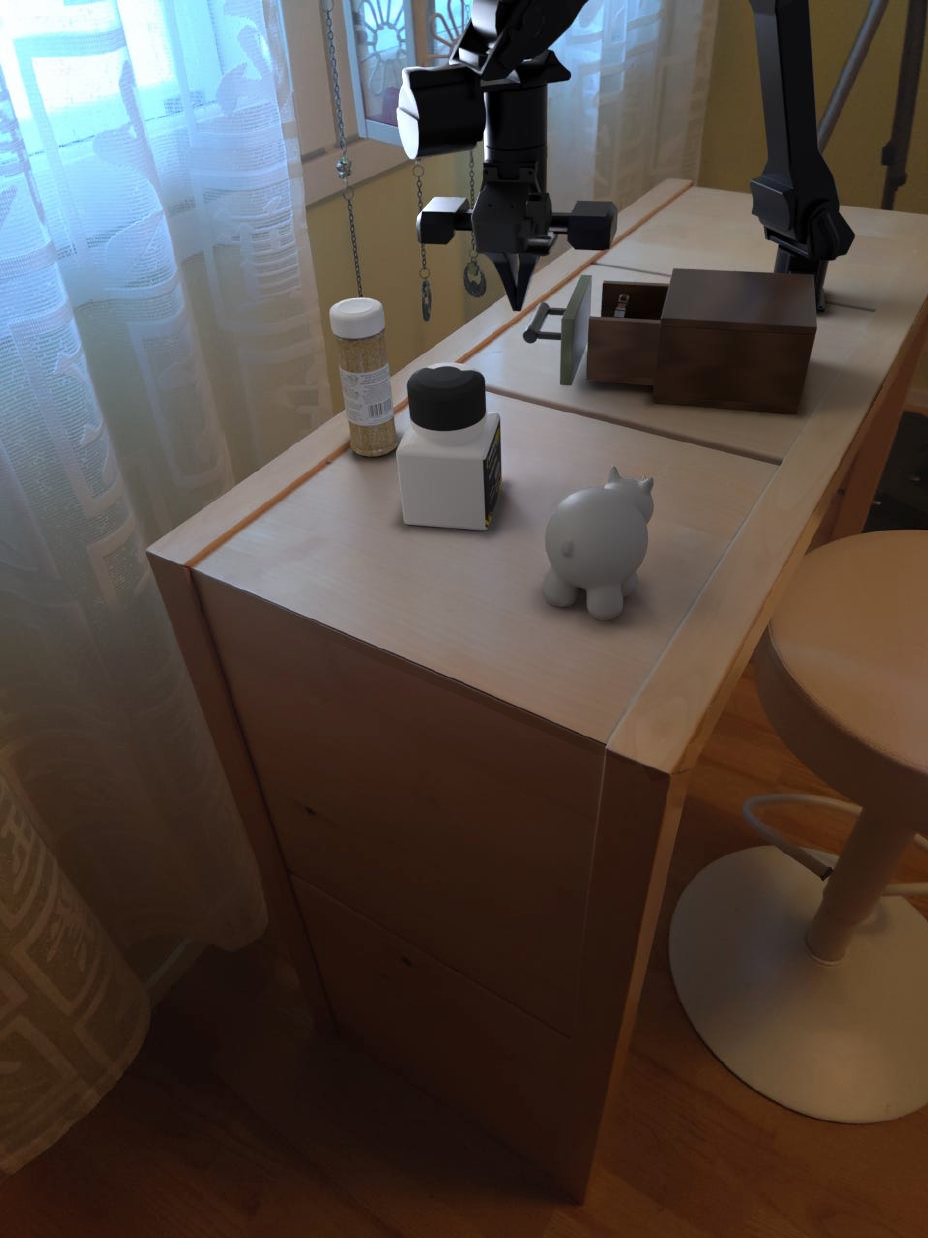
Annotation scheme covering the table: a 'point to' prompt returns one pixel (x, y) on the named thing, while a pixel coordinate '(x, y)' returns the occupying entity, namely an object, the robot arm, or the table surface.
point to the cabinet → (735, 340)
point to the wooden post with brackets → (621, 306)
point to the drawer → (606, 332)
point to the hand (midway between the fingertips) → (517, 309)
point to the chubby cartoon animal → (598, 544)
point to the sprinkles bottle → (365, 374)
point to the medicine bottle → (449, 450)
